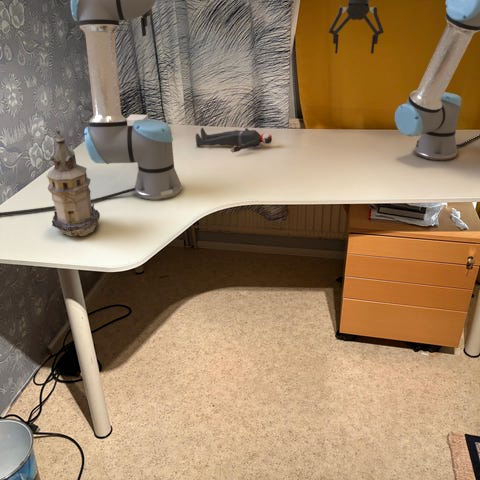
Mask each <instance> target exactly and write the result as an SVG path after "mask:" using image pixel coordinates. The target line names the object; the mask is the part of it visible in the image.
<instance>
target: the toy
mask: <svg viewBox="0 0 480 480" xmlns="http://www.w3.org/2000/svg"><path fill="white" fill-rule="evenodd" d="M272 141H273V138H272V135H271V134H270V133H262V134H261V133H259V132H258V131H257V130H256V129H251V130H250V129H248V128H247V127H243V130H237V129H235V130H231V131H230V130H229V131H222V132H218V133H212V134H207V132H206V131H205V129H204V127H201V128H200V134H199V133H198V132H197V133H195V144H196V147H197V148H200V147H203V146H211V147H212V146H221V147H223V146H231V148H230V149H229V151H230V152H231V153H233V154H234V153H238V152H240V151H241V150H244V149H248V148H250V149H256V148H259V147H260V145H261V144H262V143H263V144H265V145H266V144H267V145H269V144H271V143H272Z"/></svg>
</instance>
